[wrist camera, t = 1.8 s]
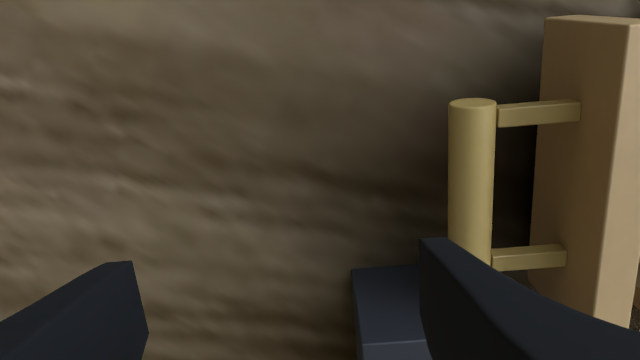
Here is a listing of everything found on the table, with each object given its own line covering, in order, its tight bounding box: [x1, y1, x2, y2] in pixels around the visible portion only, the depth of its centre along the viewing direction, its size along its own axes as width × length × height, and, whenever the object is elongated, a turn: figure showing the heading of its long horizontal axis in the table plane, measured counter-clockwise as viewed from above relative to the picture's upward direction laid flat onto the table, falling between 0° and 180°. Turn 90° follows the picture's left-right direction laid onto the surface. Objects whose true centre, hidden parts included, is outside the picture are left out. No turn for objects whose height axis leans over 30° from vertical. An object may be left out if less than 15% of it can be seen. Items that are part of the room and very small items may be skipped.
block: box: [351, 264, 432, 360], centre depth 20 cm, size 5×5×5 cm
